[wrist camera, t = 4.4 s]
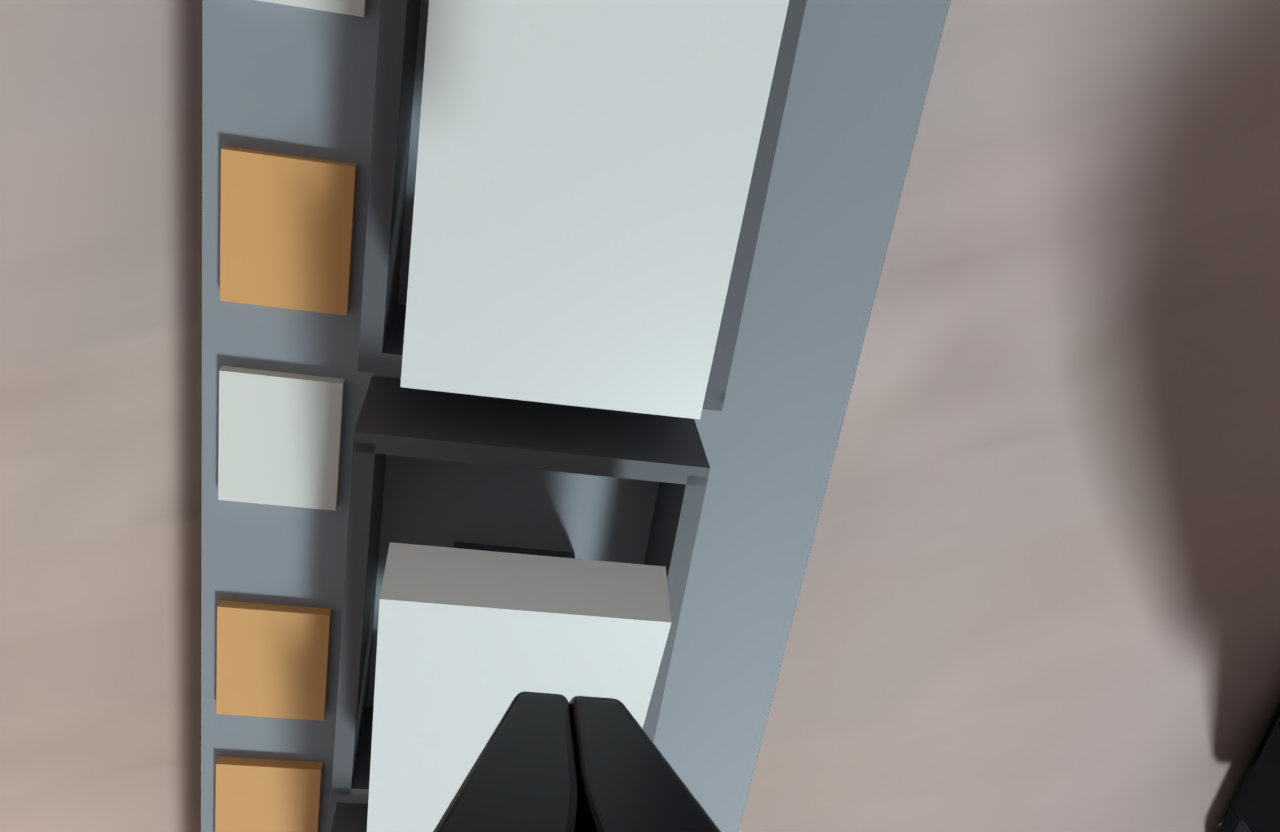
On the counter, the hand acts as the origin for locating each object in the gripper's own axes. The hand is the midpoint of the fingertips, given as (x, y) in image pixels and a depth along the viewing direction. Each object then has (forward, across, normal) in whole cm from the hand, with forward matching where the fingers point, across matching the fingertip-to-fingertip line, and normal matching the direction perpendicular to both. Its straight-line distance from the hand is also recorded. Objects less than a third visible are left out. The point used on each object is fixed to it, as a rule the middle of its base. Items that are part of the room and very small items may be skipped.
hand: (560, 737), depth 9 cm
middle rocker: (+6, 0, +4) cm, 7 cm away
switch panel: (+11, 0, +4) cm, 12 cm away
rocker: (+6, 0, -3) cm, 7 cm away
